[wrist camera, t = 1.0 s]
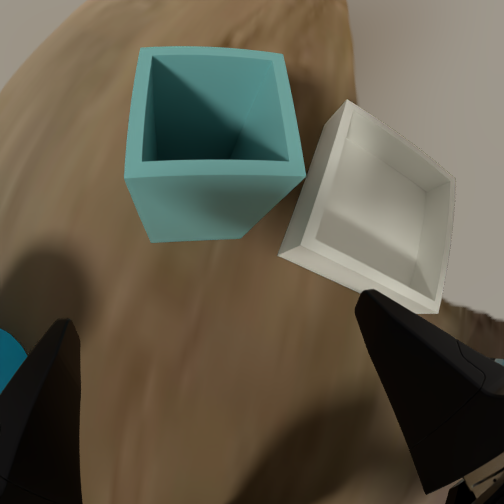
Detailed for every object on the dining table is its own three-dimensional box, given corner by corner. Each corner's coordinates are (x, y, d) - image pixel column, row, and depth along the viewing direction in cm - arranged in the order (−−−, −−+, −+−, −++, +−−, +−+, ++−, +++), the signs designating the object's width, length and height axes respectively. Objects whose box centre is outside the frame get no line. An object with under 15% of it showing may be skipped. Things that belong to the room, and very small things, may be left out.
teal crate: (240, 238, 23) (306, 176, 11) (151, 242, 21) (124, 178, 9) (234, 158, 23) (282, 54, 12) (151, 159, 22) (140, 47, 10)
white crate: (404, 313, 25) (438, 313, 21) (277, 255, 23) (300, 245, 19) (427, 191, 28) (455, 178, 24) (324, 124, 26) (346, 99, 22)
